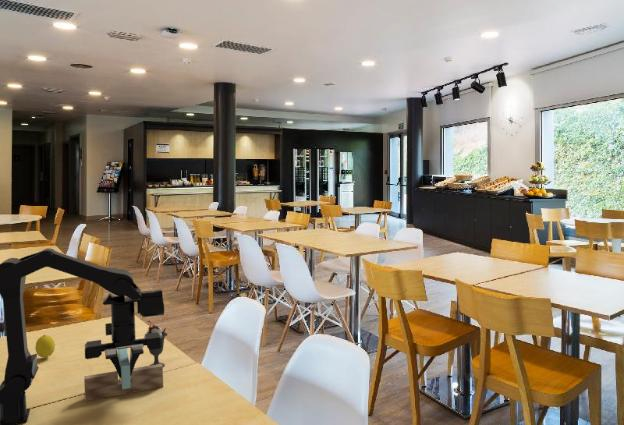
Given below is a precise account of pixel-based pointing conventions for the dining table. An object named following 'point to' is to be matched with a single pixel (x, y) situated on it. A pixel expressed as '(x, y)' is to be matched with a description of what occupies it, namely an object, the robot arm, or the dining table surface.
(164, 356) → the dining table surface
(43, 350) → the lemon
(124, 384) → the teal slotted plate
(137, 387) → the walnut slotted plate
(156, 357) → the sundae
